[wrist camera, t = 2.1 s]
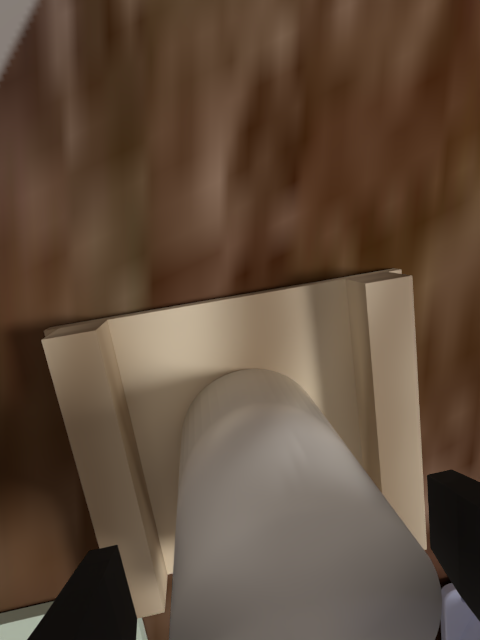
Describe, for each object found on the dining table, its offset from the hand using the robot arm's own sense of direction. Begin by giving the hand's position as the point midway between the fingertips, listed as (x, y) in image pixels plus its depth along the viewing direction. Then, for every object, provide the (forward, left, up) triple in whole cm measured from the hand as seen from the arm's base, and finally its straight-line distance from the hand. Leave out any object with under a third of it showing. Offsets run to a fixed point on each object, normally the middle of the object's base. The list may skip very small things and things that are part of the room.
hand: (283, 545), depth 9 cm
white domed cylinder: (0, 0, -5) cm, 5 cm away
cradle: (0, 0, -6) cm, 6 cm away
